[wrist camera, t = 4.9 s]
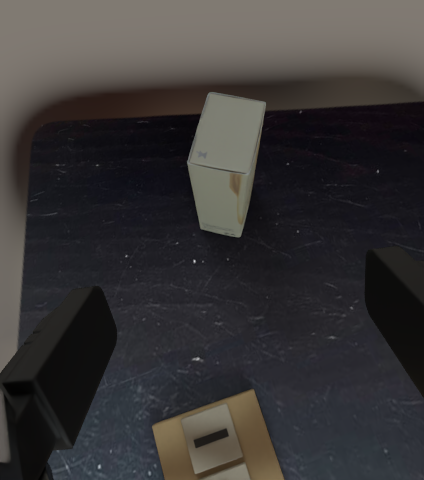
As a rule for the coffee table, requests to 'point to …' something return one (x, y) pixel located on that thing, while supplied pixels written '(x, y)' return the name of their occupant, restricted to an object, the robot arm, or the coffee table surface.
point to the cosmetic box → (225, 161)
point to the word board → (218, 442)
